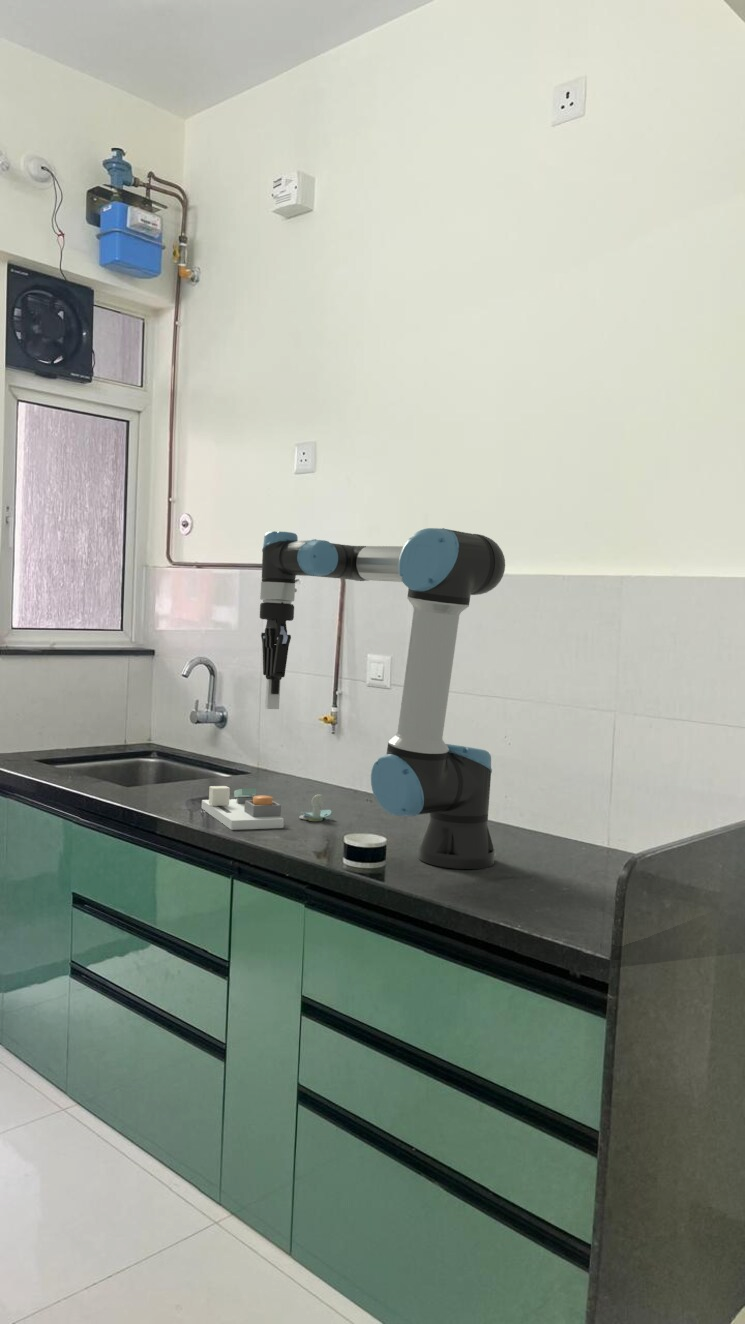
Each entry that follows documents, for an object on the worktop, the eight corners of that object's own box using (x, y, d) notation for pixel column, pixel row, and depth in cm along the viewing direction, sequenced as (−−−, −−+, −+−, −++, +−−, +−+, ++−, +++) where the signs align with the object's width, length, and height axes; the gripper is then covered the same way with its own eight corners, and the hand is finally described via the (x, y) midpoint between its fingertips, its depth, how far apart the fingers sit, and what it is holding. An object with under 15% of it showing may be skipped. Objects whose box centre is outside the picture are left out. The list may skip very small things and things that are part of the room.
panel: (284, 827, 224) (285, 807, 224) (231, 829, 219) (232, 809, 218) (250, 806, 245) (251, 788, 245) (201, 808, 240) (202, 789, 240)
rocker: (256, 794, 237) (256, 788, 238) (241, 794, 236) (241, 788, 236) (248, 796, 243) (248, 790, 243) (234, 796, 241) (233, 790, 241)
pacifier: (293, 819, 235) (307, 823, 231) (294, 792, 235) (308, 796, 230) (320, 817, 240) (334, 821, 235) (321, 790, 240) (335, 794, 235)
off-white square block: (229, 805, 234) (229, 788, 234) (212, 805, 232) (213, 788, 232) (225, 802, 237) (226, 785, 236) (208, 803, 235) (209, 786, 235)
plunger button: (274, 812, 227) (275, 798, 226) (256, 812, 225) (256, 799, 225) (268, 808, 231) (269, 795, 230) (250, 808, 229) (250, 795, 229)
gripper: (303, 603, 219) (298, 711, 220) (283, 603, 230) (278, 706, 231) (271, 601, 216) (265, 711, 216) (251, 601, 227) (246, 705, 228)
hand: (272, 708), depth 224 cm, fingers closed
